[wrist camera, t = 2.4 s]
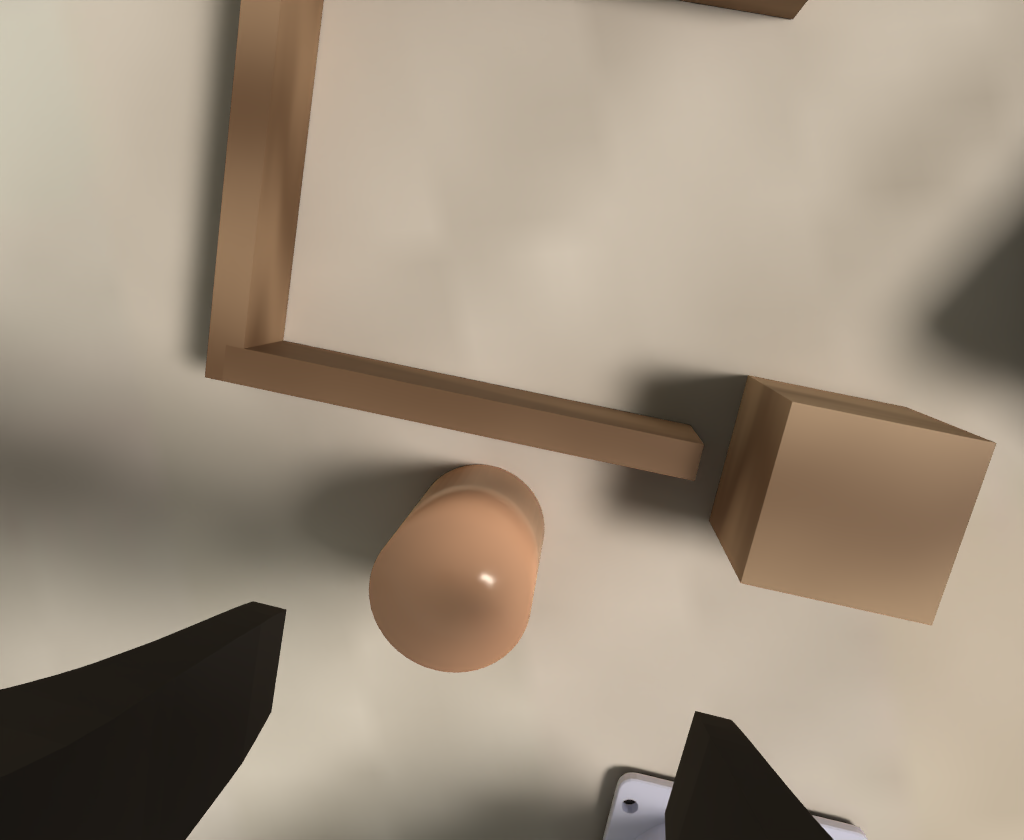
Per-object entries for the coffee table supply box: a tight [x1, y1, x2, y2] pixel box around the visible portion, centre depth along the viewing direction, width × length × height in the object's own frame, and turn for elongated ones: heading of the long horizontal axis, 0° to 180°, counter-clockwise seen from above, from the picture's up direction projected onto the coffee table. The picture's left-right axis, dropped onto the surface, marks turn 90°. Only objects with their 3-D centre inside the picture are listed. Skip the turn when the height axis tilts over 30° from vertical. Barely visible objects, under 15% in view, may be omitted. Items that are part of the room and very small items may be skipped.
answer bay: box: [205, 0, 808, 481], centre depth 18 cm, size 13×14×2 cm
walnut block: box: [709, 375, 996, 625], centre depth 18 cm, size 4×4×4 cm
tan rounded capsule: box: [369, 464, 544, 672], centre depth 19 cm, size 4×4×5 cm
